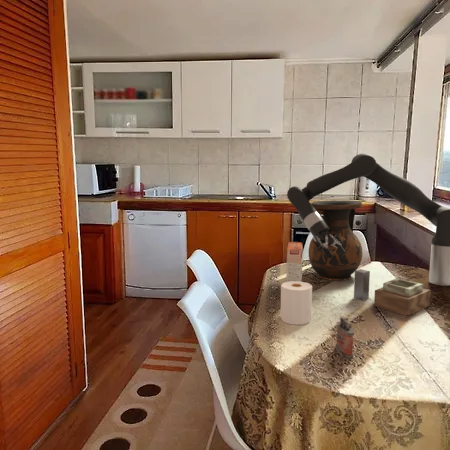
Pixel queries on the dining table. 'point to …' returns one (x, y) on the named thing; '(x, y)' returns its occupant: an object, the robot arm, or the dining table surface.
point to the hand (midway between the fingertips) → (338, 255)
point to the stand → (402, 296)
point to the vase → (342, 225)
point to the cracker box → (294, 262)
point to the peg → (361, 284)
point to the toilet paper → (296, 302)
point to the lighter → (345, 338)
